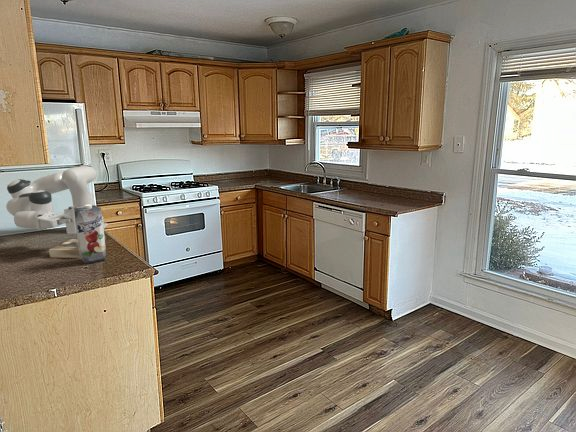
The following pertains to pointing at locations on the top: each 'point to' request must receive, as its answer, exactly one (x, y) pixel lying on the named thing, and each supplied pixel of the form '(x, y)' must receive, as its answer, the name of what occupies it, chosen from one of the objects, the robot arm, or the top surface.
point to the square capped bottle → (71, 215)
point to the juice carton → (90, 233)
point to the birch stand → (66, 250)
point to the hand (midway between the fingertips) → (74, 219)
